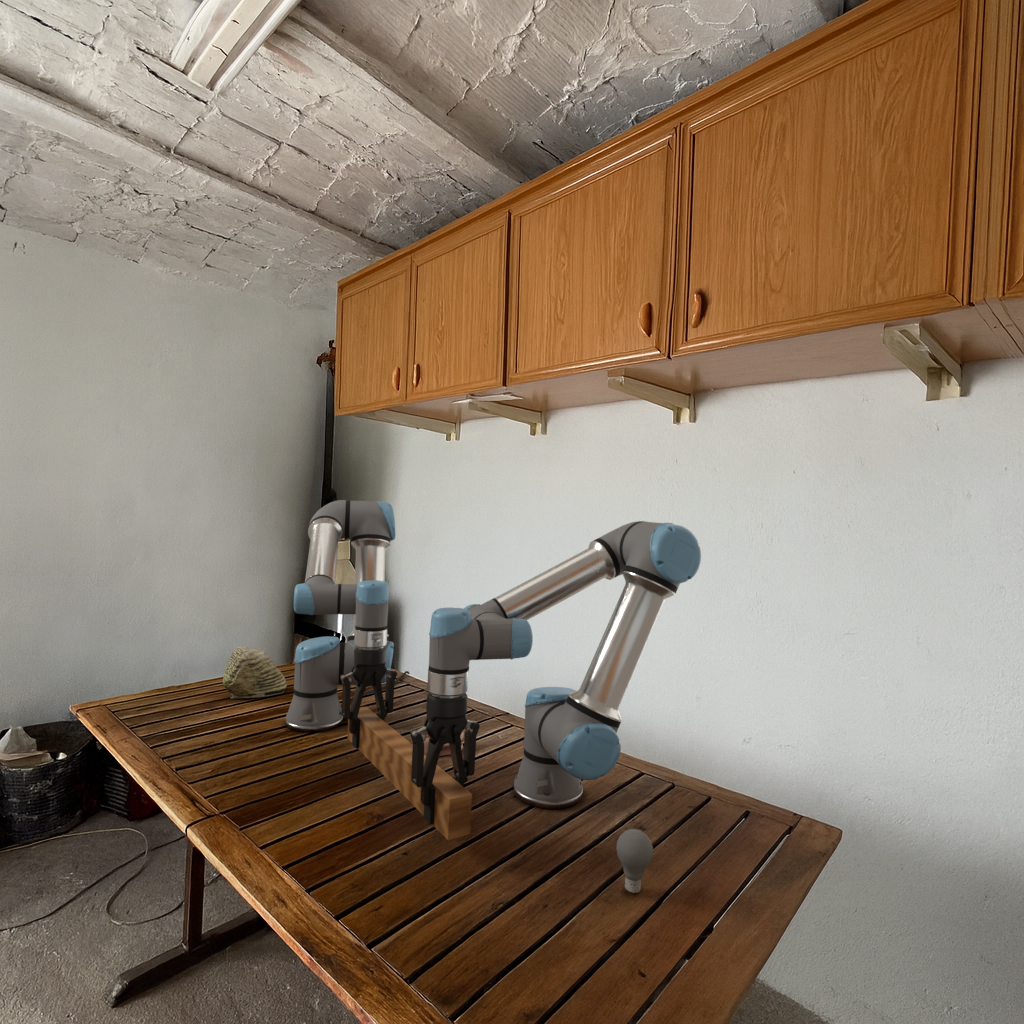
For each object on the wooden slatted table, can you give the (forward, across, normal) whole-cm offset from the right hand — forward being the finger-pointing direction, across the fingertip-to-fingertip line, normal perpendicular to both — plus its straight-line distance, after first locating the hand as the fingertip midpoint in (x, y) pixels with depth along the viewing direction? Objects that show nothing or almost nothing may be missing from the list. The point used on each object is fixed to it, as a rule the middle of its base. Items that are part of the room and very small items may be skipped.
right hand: (441, 817), depth 117 cm
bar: (0, 0, +20) cm, 20 cm away
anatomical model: (+5, +19, +40) cm, 45 cm away
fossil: (+5, -12, +104) cm, 105 cm away
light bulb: (+5, +22, -28) cm, 36 cm away
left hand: (0, 0, +39) cm, 39 cm away
